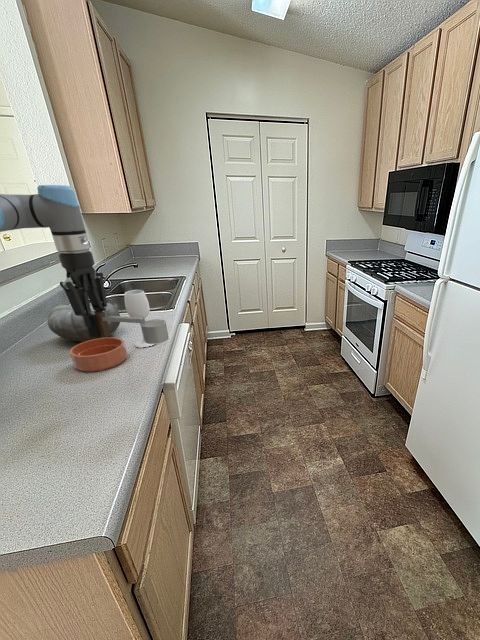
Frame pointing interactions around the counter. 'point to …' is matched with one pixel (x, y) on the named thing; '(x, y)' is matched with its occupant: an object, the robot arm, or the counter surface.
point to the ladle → (151, 329)
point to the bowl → (98, 354)
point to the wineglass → (137, 309)
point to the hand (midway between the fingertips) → (99, 334)
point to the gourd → (76, 322)
